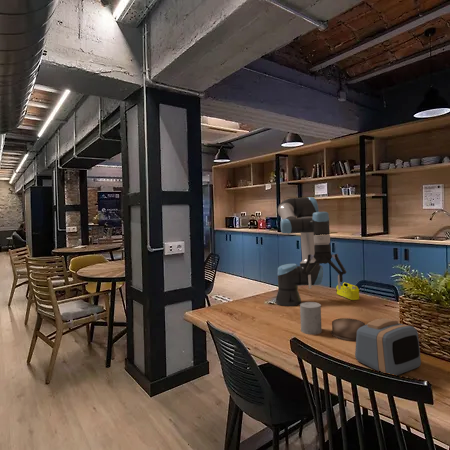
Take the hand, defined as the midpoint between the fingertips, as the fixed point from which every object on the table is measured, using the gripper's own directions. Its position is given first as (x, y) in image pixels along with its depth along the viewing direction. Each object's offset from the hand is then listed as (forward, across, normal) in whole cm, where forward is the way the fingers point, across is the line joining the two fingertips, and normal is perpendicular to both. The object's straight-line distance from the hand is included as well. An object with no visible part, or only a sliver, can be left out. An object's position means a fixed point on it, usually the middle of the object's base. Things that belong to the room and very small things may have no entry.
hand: (324, 288), depth 156 cm
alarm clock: (+22, +25, -29) cm, 44 cm away
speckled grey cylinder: (+19, -6, -5) cm, 21 cm away
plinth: (+19, +10, -4) cm, 22 cm away
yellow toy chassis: (+14, +4, +58) cm, 60 cm away
